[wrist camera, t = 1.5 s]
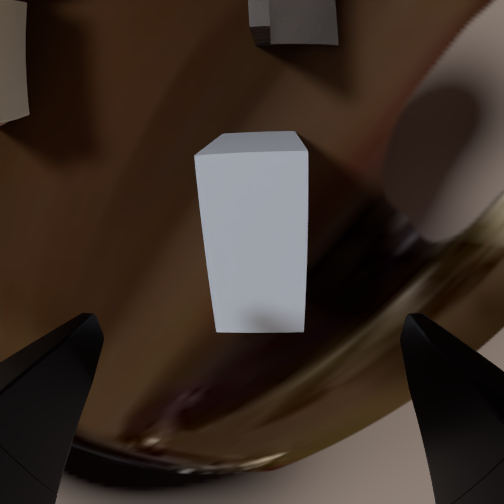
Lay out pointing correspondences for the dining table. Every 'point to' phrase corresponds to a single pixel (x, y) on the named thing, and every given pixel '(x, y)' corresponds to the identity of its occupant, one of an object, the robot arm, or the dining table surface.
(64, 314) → the dining table surface
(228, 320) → the pale grey upright box
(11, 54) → the book block
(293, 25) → the bookend
